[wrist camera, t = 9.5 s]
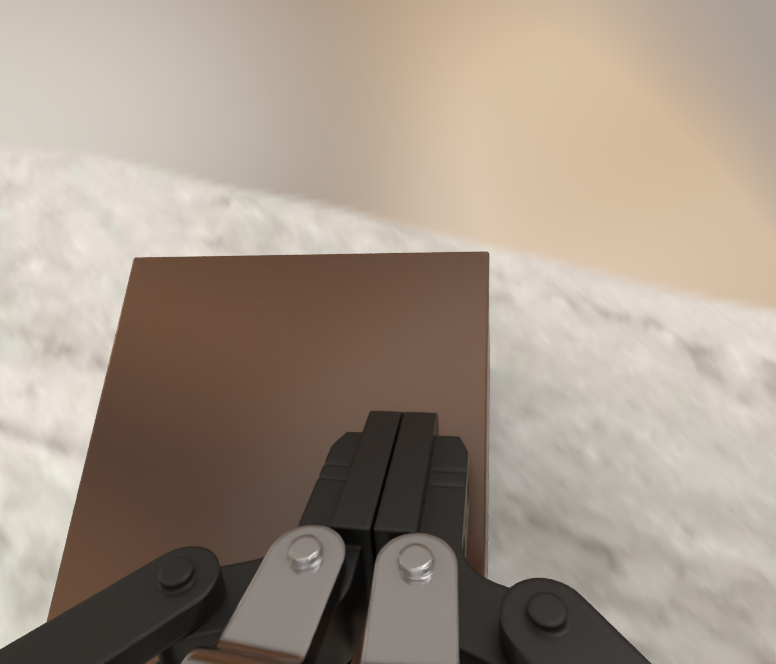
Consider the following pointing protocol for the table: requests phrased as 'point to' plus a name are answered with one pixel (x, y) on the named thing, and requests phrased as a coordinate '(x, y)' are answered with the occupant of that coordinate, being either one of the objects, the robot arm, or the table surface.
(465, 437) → the lid
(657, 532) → the table surface
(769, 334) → the table surface
